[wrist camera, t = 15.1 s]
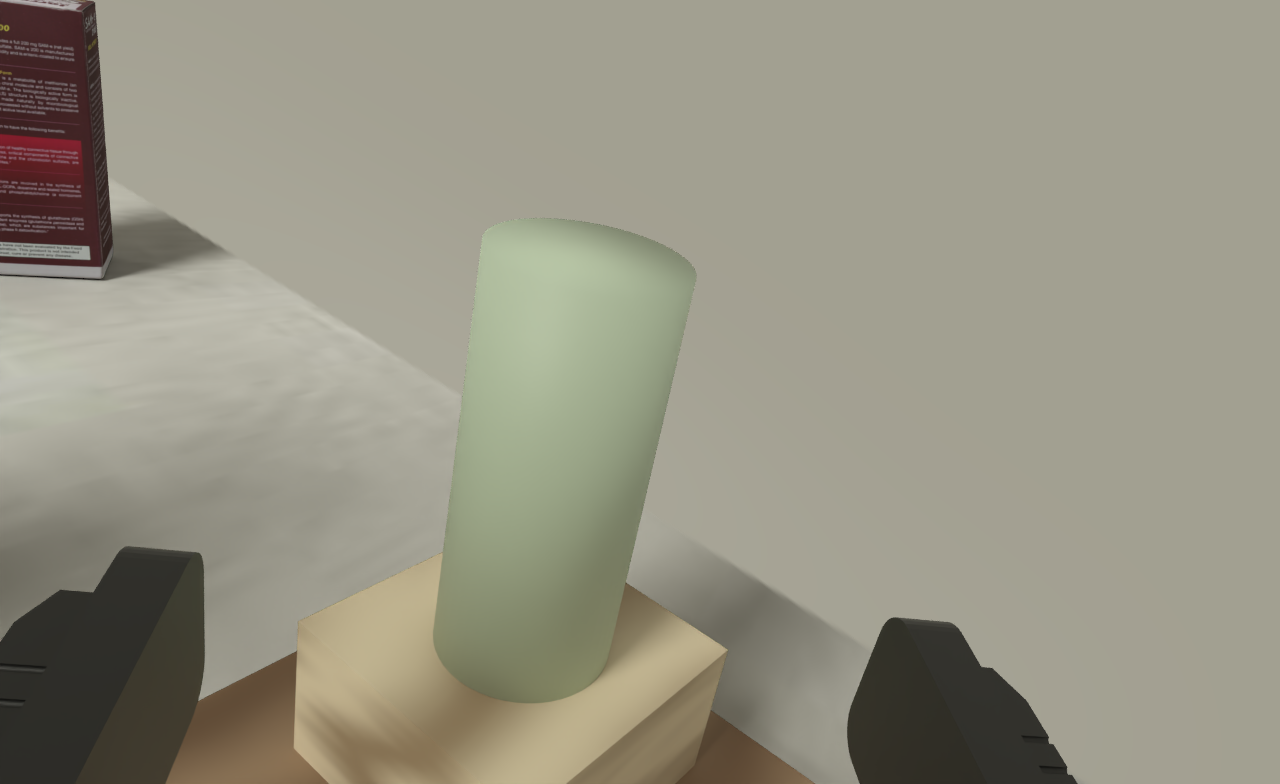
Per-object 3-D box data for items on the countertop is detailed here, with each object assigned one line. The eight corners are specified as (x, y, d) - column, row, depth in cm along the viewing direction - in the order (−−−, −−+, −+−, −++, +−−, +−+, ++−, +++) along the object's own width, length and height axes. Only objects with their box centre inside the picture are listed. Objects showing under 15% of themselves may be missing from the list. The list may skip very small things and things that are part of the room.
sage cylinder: (394, 630, 27) (435, 233, 22) (518, 560, 31) (578, 209, 26) (527, 734, 25) (607, 314, 20) (643, 643, 29) (736, 274, 24)
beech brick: (293, 748, 29) (298, 621, 27) (504, 623, 36) (521, 514, 34) (497, 951, 25) (522, 819, 22) (694, 765, 31) (728, 649, 29)
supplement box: (115, 254, 63) (100, -1, 56) (104, 282, 59) (86, 11, 52) (-41, 245, 60) (-77, -27, 53) (-64, 273, 56) (-106, -17, 49)
